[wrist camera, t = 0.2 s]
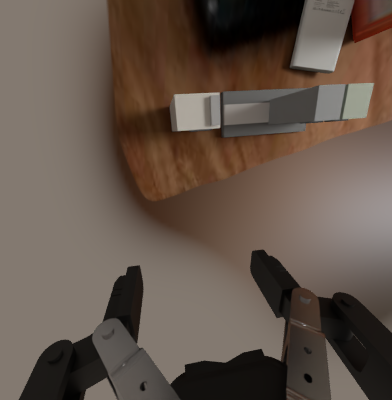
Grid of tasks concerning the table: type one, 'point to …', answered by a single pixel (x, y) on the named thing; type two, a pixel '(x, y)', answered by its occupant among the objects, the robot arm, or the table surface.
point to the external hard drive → (321, 34)
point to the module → (195, 112)
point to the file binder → (370, 18)
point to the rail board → (291, 108)
